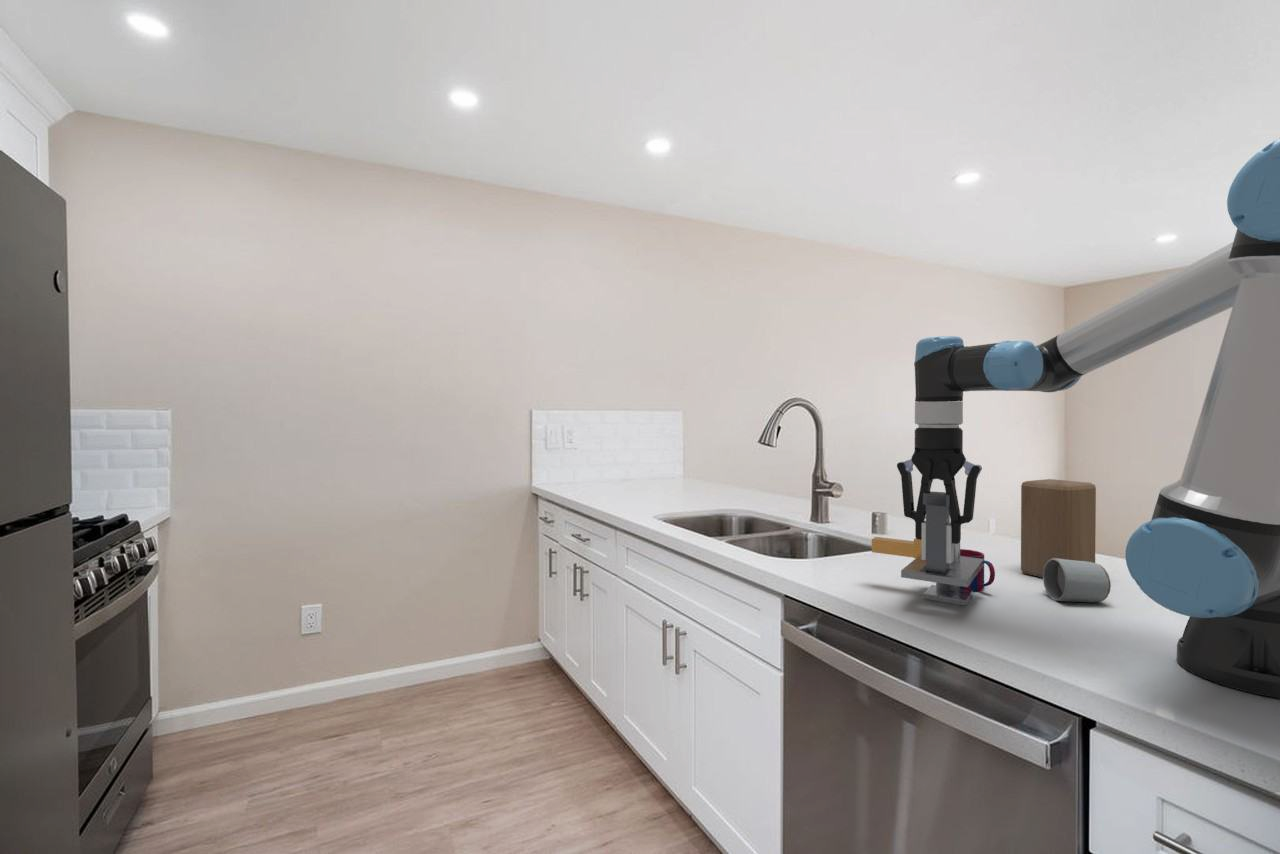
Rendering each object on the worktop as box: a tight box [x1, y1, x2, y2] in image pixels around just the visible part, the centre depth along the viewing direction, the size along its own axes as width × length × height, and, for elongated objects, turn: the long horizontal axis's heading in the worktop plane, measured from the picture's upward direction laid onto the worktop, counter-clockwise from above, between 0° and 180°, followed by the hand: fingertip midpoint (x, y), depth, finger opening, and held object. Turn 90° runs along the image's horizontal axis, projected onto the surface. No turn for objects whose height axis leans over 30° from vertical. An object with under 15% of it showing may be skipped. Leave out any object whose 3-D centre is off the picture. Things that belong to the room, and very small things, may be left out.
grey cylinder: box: [1042, 558, 1112, 603], centre depth 111 cm, size 11×8×8 cm
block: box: [1020, 478, 1097, 579], centre depth 126 cm, size 10×10×20 cm
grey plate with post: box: [871, 519, 985, 607], centre depth 112 cm, size 18×19×16 cm
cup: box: [960, 548, 996, 592], centre depth 118 cm, size 7×10×7 cm
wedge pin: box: [923, 490, 950, 575], centre depth 105 cm, size 4×3×14 cm
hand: (937, 559), depth 105 cm, fingers closed on wedge pin, 3 cm apart
